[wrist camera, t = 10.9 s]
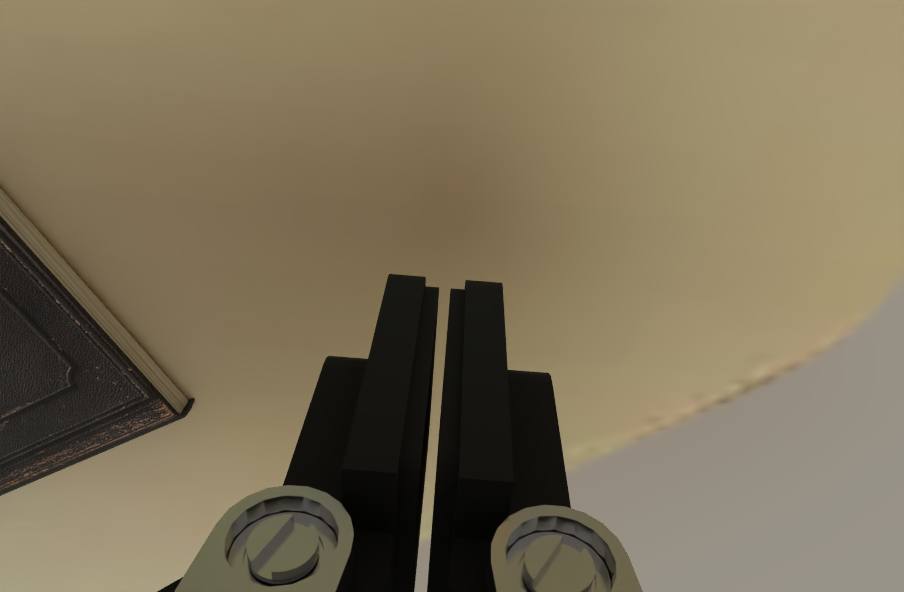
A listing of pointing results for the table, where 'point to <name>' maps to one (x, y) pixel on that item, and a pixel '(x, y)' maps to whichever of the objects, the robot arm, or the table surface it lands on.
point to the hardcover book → (65, 364)
